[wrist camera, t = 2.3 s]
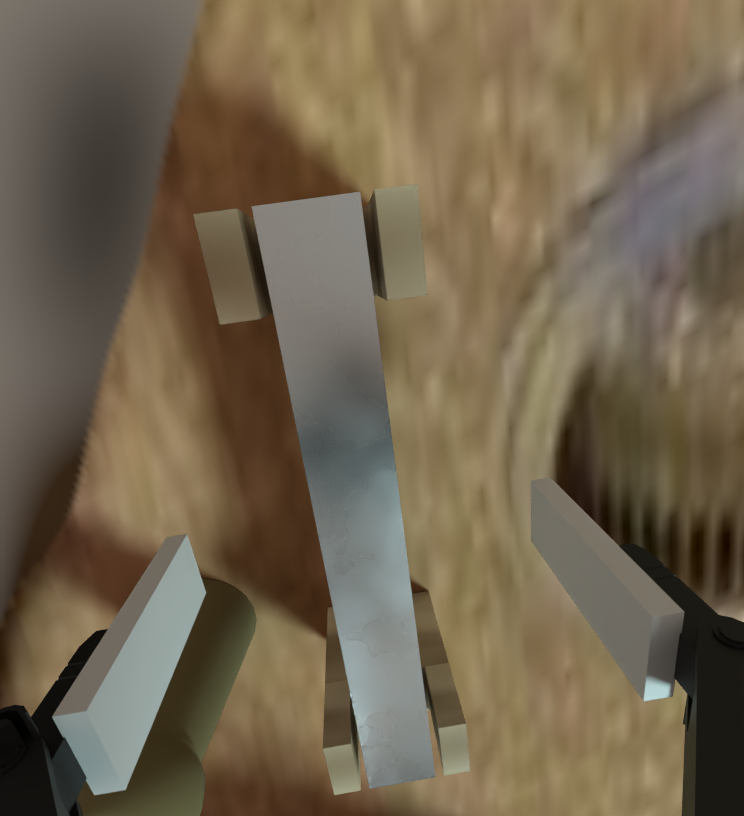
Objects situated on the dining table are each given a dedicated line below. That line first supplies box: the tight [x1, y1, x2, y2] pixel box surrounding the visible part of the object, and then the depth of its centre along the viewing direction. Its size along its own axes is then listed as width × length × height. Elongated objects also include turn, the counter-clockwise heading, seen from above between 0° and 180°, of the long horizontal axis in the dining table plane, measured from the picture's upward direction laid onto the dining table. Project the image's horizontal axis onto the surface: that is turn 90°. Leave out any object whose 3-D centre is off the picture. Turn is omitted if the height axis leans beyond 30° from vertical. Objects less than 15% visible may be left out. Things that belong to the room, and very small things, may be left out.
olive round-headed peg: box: [77, 579, 256, 816], centre depth 20 cm, size 6×6×11 cm
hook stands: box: [193, 184, 470, 795], centre depth 19 cm, size 24×6×8 cm, turn 7°
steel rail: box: [252, 192, 435, 789], centre depth 17 cm, size 24×3×3 cm, turn 7°
